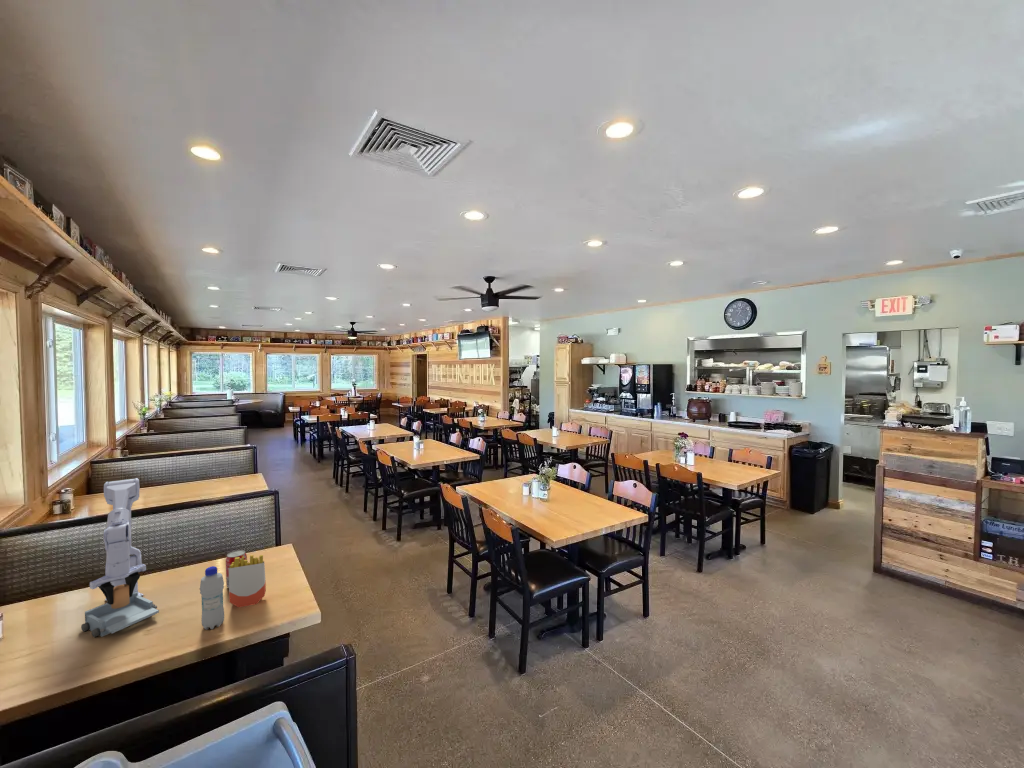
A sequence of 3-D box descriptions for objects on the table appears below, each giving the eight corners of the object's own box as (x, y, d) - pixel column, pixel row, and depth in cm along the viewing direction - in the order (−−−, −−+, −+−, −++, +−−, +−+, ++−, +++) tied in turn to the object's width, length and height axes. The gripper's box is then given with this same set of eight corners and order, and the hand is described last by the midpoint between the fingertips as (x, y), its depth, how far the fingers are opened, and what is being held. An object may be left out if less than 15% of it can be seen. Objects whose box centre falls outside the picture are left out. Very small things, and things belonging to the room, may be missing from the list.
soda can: (237, 591, 167) (236, 558, 167) (221, 589, 169) (220, 556, 168) (252, 582, 174) (251, 550, 174) (236, 580, 176) (235, 548, 175)
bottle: (199, 634, 141) (197, 573, 140) (202, 623, 147) (200, 565, 146) (224, 628, 144) (222, 569, 143) (226, 617, 150) (224, 560, 149)
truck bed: (80, 629, 143) (79, 613, 142) (140, 604, 158) (140, 589, 157) (99, 640, 137) (98, 623, 137) (159, 613, 152) (159, 597, 152)
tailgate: (105, 627, 139) (111, 631, 137) (152, 607, 151) (158, 610, 149) (105, 630, 139) (111, 634, 138) (152, 610, 151) (158, 613, 149)
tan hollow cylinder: (108, 606, 146) (107, 587, 146) (125, 599, 150) (124, 580, 150) (115, 609, 144) (115, 590, 144) (132, 603, 148) (131, 583, 148)
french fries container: (232, 602, 159) (230, 554, 158) (266, 596, 163) (264, 549, 163) (229, 609, 155) (228, 559, 154) (264, 602, 159) (263, 554, 158)
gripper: (96, 572, 138) (98, 613, 139) (150, 554, 151) (151, 592, 152) (85, 567, 141) (87, 608, 142) (139, 550, 155) (140, 587, 155)
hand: (120, 599), depth 147 cm, fingers closed on tan hollow cylinder, 5 cm apart
